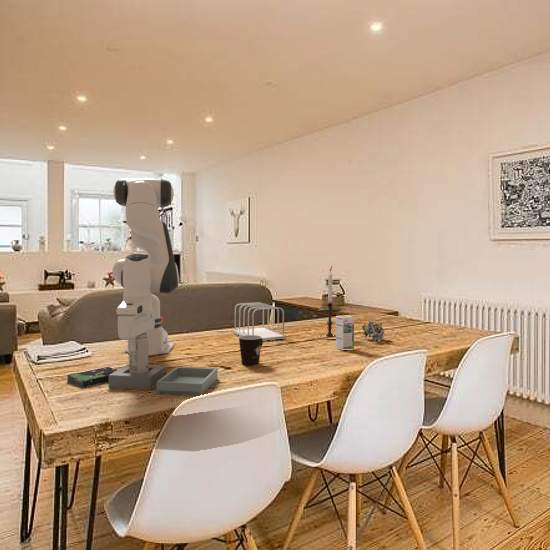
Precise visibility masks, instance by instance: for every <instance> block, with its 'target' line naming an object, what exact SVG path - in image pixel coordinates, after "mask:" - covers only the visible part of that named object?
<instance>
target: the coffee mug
mask: <svg viewBox="0 0 550 550" xmlns="http://www.w3.org/2000/svg"><path fill="white" fill-rule="evenodd" d="M238 340H239V351H240V360H241V365H242V364H243V366H247V367H253V365H255V366H257V365H259V364H260V358H261V349H262V346H263V344H264V341H263V340H262V337H261V336H257V335H245V336H238Z"/></svg>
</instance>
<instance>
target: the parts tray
mask: <svg viewBox="0 0 550 550" xmlns="http://www.w3.org/2000/svg"><path fill="white" fill-rule="evenodd" d="M218 369H219V368H216V367H215V368H212V367H211V368H210V367H209V368H208V367H191V366H190V367H188V366H187V367H186V366H176V367H174V368H173V369H172V370H171V371H169V372H168V373H167V375H165V376H164V377H162V378H161V379H160V380H158V381H157V382H156V386H155V387H156V388H155V389H156V394H158V393H167V394H166V395H178V394H185V395H184V396H198V395H201V394H203V393H204V394H205V393H206V392H207V391H208V390H209V389H210V388H211V387H212V386H213V384H214V383H215V382H217V380H218V379H219V378H218V373H219V372H218ZM209 387H210V388H209ZM208 388H209V389H208ZM207 389H208V390H207ZM204 394H203V395H204Z"/></svg>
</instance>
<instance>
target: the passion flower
mask: <svg viewBox="0 0 550 550" xmlns="http://www.w3.org/2000/svg"><path fill="white" fill-rule="evenodd" d="M361 328H362V330H363V334H362V336H364V339H366V340H367V337H368V338H372V341H373V342H377V343H380V342H381V339H382V340H385V336H384V335H385V332H386V330H385V329H384V328H383V326H382V323H380V324H379V322H376V321H372V320H371V319H368V324H367V325H366V324H363V325H362V326H361Z"/></svg>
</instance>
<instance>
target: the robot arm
mask: <svg viewBox="0 0 550 550" xmlns="http://www.w3.org/2000/svg"><path fill="white" fill-rule="evenodd" d="M112 192H113V197H114V199H115V202H116V203H117V204H118V205H119V206H121V207H125V221H126V225H127V226H128V228H129V229H130V231H131V235H130V236H131V238H130V239H131V243H132V245H133V246H134V247H136V248H137V249H139V250H141V251H143V252H145V253H146V254H147V255H146V254H143V253H142V254H141V253H138V254H137V253H136V254H135V253H134V254H129V255H127V256H125V257H124V258H122V259H117V260H116V261H115V263H114V265H113V266H112V271H111V272H112V277H113V279H114V281H115V282H116V283H117V284H118V285H120V286H121V287H122V288H123V290H124V291H123V294H122V301H121V303H120V304H119V305H118V306H117V307H116V311H115V312H116V314H117V315H118V317H117V333H118V334H117V335H118V338H119V340H122V341H123V340H125V341H126V340H127V348H125V349H124V352H125V353H127V354H129V346H130V351H136V350H137V345H136V343H135V340H136V337H137V336H139V335H141V334H143V333H146V336H147V338H148V356H156V355H160V354H162V355H163V354H169V353H170V352H171V350H172V349H173V347H174V346H175V345H174V343H171V342H169V334H168V332H167V331H166V330H165V329H164V328H163V322H164V319H165V318H164V317H163V316H161V300H160V299H159V297H158V296H157V295H155V294H153V293H160V294H171V293H173V292H174V291H175V290H176V289H178V287H179V285H180V274H179V268H178V265H177V263H176V262H175V261H176V260H175V256H174V251H173V246H172V245H173V244H172V241H171V237H170V233H169V229H168V225H167V224H166V222H164V221H162V220H161V218H160V213H159V208H161V210H164V208H167V207H169V206H170V205H171V204H172V201H173V200H174V195H175V194H174V193H175V192H174V188H173V186H172V183H171V182H170V181H169V180H166V179H162V178H161V179H158V178H150V177H144V178H141V177H140V178H138V177H137V178H136V177H135V178H126V177H125V178H119V179H118V180H117V181H115V184H114V185H113V191H112ZM128 343H129V345H128Z"/></svg>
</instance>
